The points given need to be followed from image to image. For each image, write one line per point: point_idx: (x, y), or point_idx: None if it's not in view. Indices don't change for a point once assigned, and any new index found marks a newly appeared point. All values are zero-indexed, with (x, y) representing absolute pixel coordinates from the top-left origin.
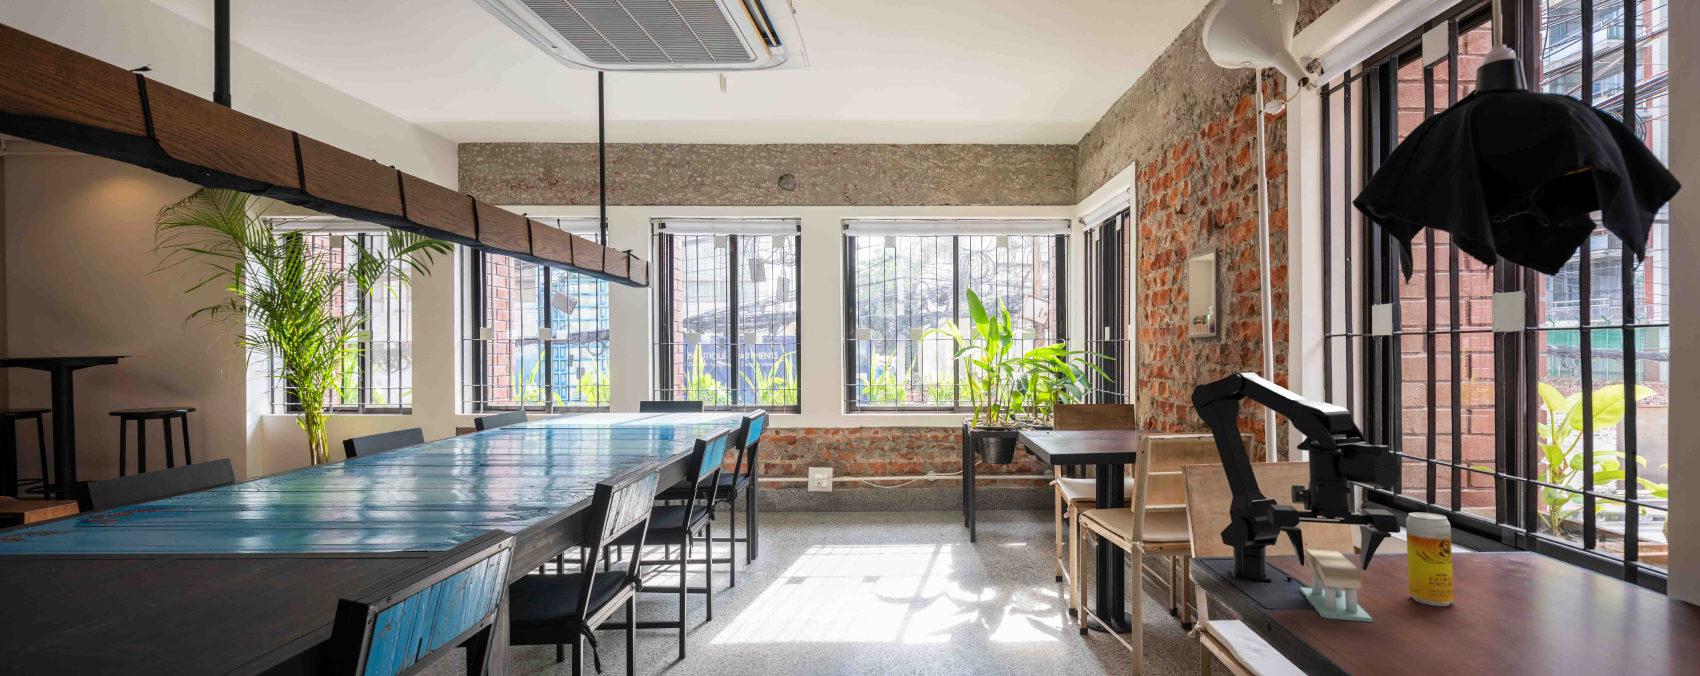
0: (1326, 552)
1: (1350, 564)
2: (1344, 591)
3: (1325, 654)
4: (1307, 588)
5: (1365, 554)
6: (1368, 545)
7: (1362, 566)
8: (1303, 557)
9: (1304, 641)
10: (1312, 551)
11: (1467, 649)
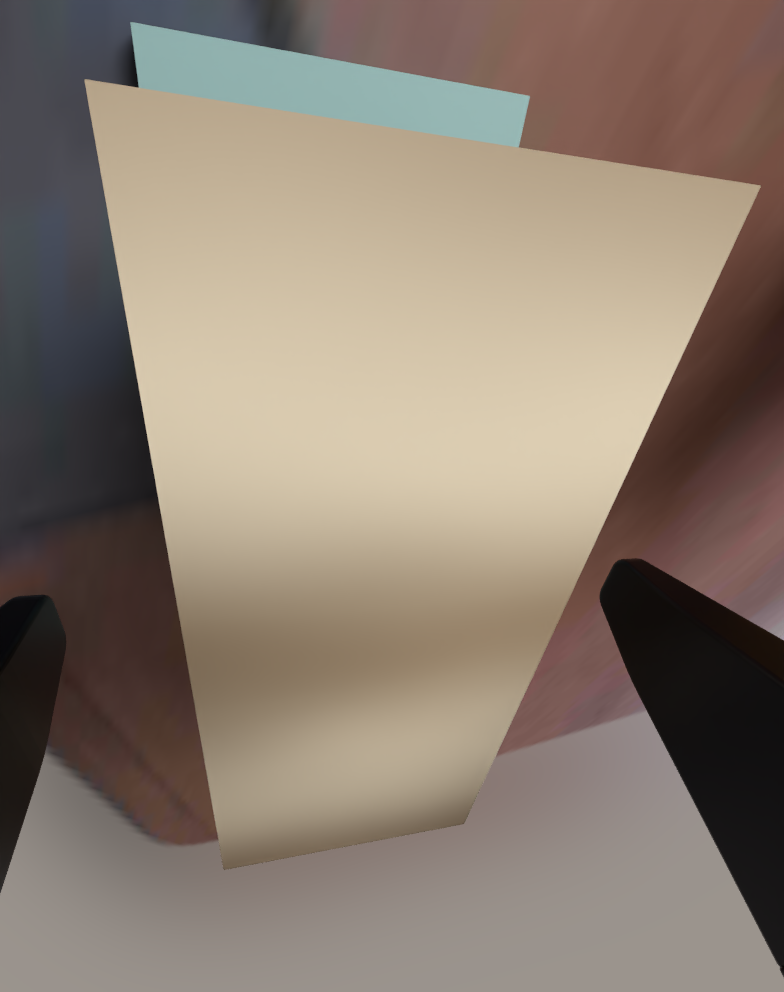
0: (475, 361)
1: (477, 744)
2: (516, 126)
3: (156, 834)
4: (205, 62)
5: (690, 772)
6: (765, 931)
7: (617, 608)
8: (25, 780)
9: (100, 797)
10: (227, 325)
11: (567, 694)
